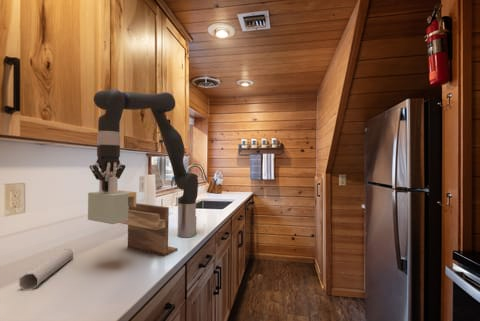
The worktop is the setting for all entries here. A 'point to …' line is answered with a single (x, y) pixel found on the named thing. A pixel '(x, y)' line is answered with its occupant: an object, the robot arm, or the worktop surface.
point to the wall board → (149, 229)
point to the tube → (44, 270)
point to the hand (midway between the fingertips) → (108, 191)
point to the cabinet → (110, 203)
